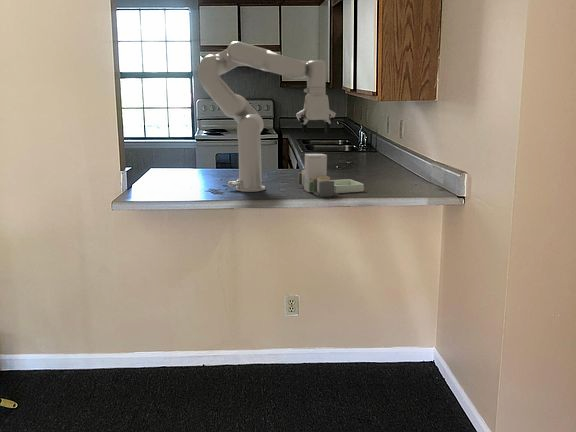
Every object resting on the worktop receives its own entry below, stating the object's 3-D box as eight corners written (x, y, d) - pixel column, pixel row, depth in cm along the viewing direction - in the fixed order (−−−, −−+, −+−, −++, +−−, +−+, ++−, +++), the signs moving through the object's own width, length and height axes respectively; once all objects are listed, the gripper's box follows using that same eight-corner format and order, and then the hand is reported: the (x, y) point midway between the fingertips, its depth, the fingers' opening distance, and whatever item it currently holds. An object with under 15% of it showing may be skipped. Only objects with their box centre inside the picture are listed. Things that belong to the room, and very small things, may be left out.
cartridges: (320, 195, 249) (320, 177, 247) (301, 186, 269) (301, 170, 267) (329, 195, 250) (330, 177, 248) (310, 186, 270) (310, 169, 269)
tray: (336, 193, 254) (336, 186, 254) (323, 187, 267) (323, 180, 266) (363, 191, 258) (363, 184, 258) (349, 185, 271) (350, 179, 270)
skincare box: (308, 192, 255) (308, 155, 252) (303, 190, 262) (303, 153, 258) (327, 191, 257) (327, 154, 254) (322, 189, 264) (322, 152, 260)
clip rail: (319, 196, 247) (319, 180, 245) (297, 186, 270) (297, 171, 269) (334, 195, 249) (335, 180, 247) (311, 185, 272) (311, 170, 271)
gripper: (299, 92, 244) (299, 135, 248) (339, 91, 250) (338, 133, 254) (293, 91, 251) (293, 133, 255) (332, 91, 257) (331, 132, 260)
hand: (315, 133), depth 254 cm, fingers open, 9 cm apart
